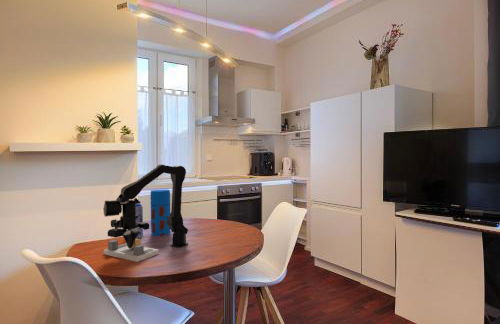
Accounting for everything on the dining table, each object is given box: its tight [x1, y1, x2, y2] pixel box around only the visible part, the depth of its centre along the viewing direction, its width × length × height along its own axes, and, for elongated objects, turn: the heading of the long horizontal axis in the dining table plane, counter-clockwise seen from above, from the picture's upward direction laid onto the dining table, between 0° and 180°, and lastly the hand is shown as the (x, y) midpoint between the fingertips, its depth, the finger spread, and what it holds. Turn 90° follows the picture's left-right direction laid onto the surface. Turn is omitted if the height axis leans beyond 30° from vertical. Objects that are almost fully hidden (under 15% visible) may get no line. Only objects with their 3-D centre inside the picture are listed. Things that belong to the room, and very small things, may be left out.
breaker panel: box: [103, 239, 159, 263], centre depth 142 cm, size 12×22×6 cm, turn 60°
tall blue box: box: [150, 189, 171, 237], centre depth 179 cm, size 11×11×25 cm
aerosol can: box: [136, 203, 144, 239], centre depth 173 cm, size 8×8×20 cm
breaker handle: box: [132, 238, 142, 248], centre depth 144 cm, size 3×3×4 cm
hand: (129, 248), depth 141 cm, fingers closed
